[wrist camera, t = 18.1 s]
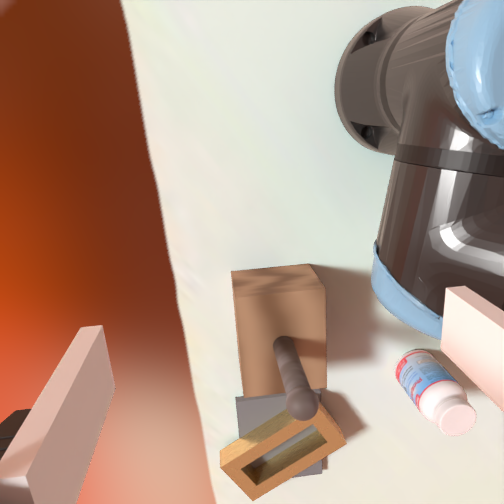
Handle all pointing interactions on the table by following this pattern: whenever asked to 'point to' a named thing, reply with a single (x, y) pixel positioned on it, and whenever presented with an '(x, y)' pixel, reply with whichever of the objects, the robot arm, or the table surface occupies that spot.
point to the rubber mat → (260, 411)
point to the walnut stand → (282, 334)
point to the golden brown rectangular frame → (284, 463)
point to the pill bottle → (435, 392)
